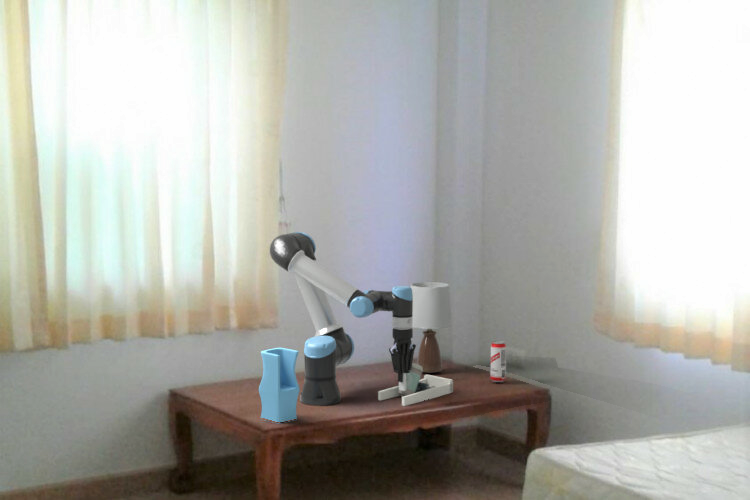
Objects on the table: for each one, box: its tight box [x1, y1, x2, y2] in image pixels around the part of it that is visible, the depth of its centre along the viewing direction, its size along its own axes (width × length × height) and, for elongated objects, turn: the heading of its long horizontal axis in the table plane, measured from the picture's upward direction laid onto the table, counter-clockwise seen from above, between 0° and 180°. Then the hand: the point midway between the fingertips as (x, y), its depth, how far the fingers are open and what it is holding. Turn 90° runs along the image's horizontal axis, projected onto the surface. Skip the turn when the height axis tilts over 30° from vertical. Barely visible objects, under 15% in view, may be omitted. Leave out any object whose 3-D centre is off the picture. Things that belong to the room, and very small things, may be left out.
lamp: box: [410, 281, 452, 374], centre depth 389 cm, size 19×19×37 cm
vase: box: [258, 347, 300, 422], centre depth 312 cm, size 10×10×25 cm
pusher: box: [415, 382, 435, 393], centre depth 352 cm, size 10×9×5 cm
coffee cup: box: [398, 362, 424, 397], centre depth 345 cm, size 8×8×12 cm
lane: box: [377, 373, 454, 407], centre depth 347 cm, size 29×13×5 cm, turn 137°
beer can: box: [489, 340, 507, 383], centre depth 371 cm, size 6×6×16 cm
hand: (402, 390), depth 340 cm, fingers closed
